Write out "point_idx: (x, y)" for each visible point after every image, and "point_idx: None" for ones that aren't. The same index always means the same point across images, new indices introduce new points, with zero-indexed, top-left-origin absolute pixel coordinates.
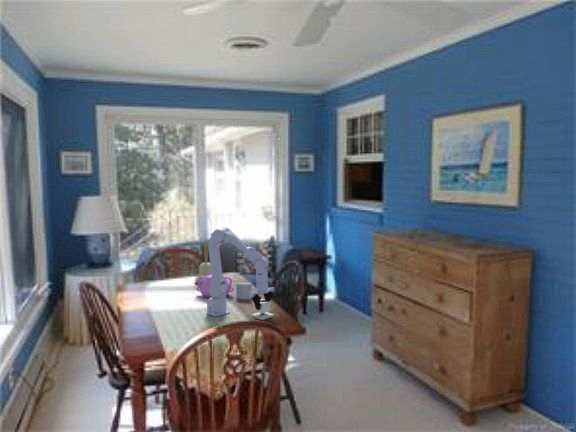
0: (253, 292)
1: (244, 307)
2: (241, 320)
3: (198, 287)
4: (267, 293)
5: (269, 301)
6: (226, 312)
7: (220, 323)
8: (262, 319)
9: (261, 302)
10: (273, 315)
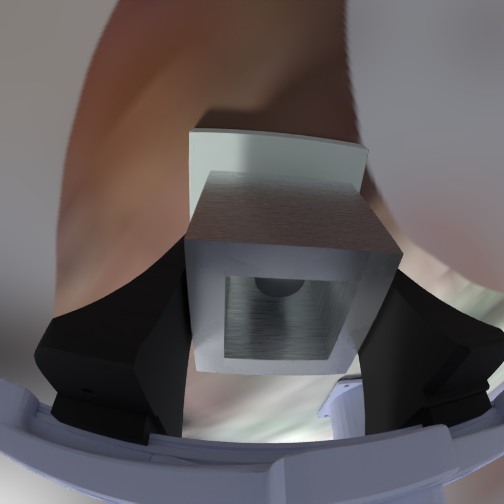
0: (497, 457)
1: (214, 389)
2: (432, 263)
3: None
4: (159, 418)
5: (209, 238)
6: (355, 386)
7: (490, 302)
8: (354, 143)
9: (251, 332)
10: (197, 130)
